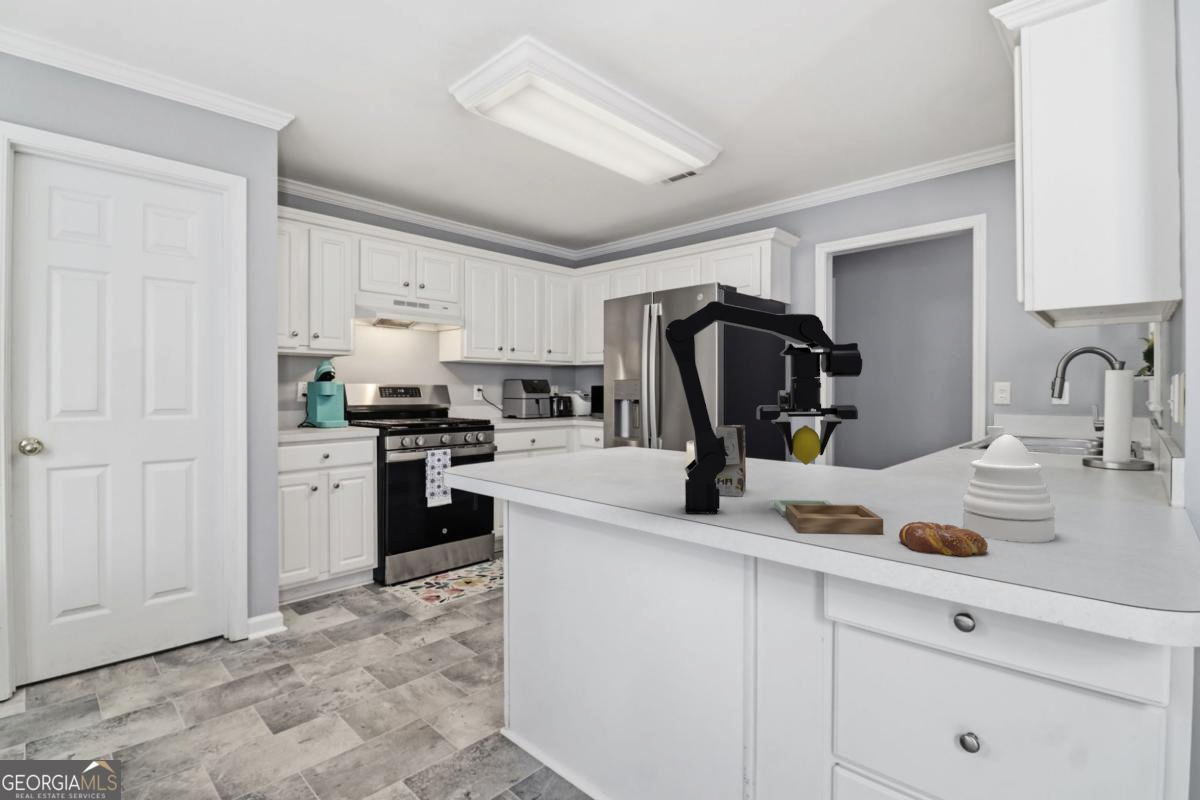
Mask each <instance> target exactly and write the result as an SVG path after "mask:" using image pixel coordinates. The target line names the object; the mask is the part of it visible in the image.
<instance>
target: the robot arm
mask: <svg viewBox="0 0 1200 800" xmlns="http://www.w3.org/2000/svg"><path fill="white" fill-rule="evenodd" d="M714 323H717V324H718V323H720V324H724V325H728V326H733V327H739V328H744V329H749V330H753V331H759V332H764V333H769V334H772V335H774V336H776V337H778V338H780V339H782V340H784V341H787V342H789V343H788V344H786V346H785V348H784V349H783V350H782V351H781V352H779V355H780V356H781V357H790V363H789V364H790V365H789V366H790V367H789V368H790V371H789V372H790V373H789V374H790V384H789V385H790V386H789V388H790V389H789V392H788V390H786V389H784V390H783V389H781V390H779V389H778V391H777V405H776V404H774V405H773V404H772V405H771V404H770V405H769V404H768V405H762V404H760V405H758V406H757V407H756V420H759V421H771V424H774V425H777V427H778V428H779V431H780V433H781V434H782V437H783V439H784V442H785V446H786V448H787V451H788V455H789V456H793V446H792V437H793V435H792V422H791V421H789V417H790V418H792V417H793V418H797V417H798V418H799V417H801V418H806V417H807V418H808V417H811V418H812V417H813V418H815V417H818V418H819V417H820V418H821V417H822V418H823V419H819V421H820V422H819V423H820V424H819V425H820V434H819V439H820V452H819V456H823V455H824V452H825V450H826V448H827V445H828V442H829V440H830V438H831V436H832V434H833V432H834V430H835V429H836V427H837V426H838V425H842V424H843V421H842V420H858V419H859V411H858V408H857V406H856V405H854V404H830V407H822V402H821V395H822V393H821V390H822V389H821V388H822V382H821V372H822V373H825V374H826V377H828V378H859V377H860V375H861V373H862V371H863V358H862V355H861V352H860V350H859V347H858V345H859V343H857V342H850V343H842V344H841V343H839V344H838V343H837V344H835V343H834V341H833V340H832V339H831V338H830V336H829V335H828V334H827V333H826V331H825V330H824V325H823V322H822V320H821V319H820V317H819V316H818V315H815V314H813V313H774V312H769V311H763V310H759V309H753V308H748V307H744V306H739V305H733V304H730V303H724V302H721V301H719V300H712V301H710V302H708V303H707V304H706V305H705V306H703V307H702V308H700V309H698V310H696V311H695V312H693V313H692V314H690V315H689V316H687V317H686V318H684V319H681V318H679V319H674V320H672V321H670V322H669V323H668V324H667V326H666V328H665V330H664V341H665V344H666V345H667V347H668V350H669V353H670V355H671V357H672V359H673V361H674V362H675V365H676V367H677V371H678V374H679V378H680V381H681V386H682V389H683V390H682V391H683V395H684V398H685V402H686V405H687V410H688V415H689V418H690V422H691V426H692V429H693V430H692V431H693V449H694V459H693V460H691V462H690V463H689V464H688V465H686V467H684V471H685V473H686V476H687V478H685V479H684V487H685V488H684V490H685V491H684V496H685V497H684V498H685V499H684V500H685V501H684V502H685V504H684V513H685V514H718V513H719V511H718V510H719V509H720V507H721V506H720V504H721V502H720V501H721V499H720V497H721V495H720V493H719V487H716V477H717V474H719V473H721V472H722V471H723V469H724V468H725V466H726V457H725V456H727V457H728V456H729V455H728V453H727V452H726V450H725V444H724V437H723V436H722V435H720V434H719V435H716V432H715V431H714V429H713V427H712V423H711V419H710V415H709V412H708V411H709V410H708V406H707V403H706V400H705V396H704V391H703V387H702V382H701V379H700V375H699V371H698V368H697V363H696V343H695V340H696V339H695V336H696V335H697V334H699V333H701V332H702V331H704V329H707V328H708V327H710V326H711V325H712V324H714ZM793 344H795V345H796V346H797V345H799V347H795V346H794V345H793ZM804 345H805V346H806V347H805V346H804ZM812 350H813V351H812ZM815 350H816V351H815ZM817 350H818V351H817ZM819 350H822V351H819ZM781 407H782V408H781ZM783 407H784V408H783ZM812 409H813V411H812Z"/></svg>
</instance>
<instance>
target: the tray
mask: <svg viewBox="0 0 1200 800" xmlns="http://www.w3.org/2000/svg"><path fill="white" fill-rule="evenodd" d="M785 519H786V520H787V521H788V522H789V524H790V525H791V526H792V527H793V529H794V530H795V531H796V530H797V531H796V532H797V533H799V534H840V533H850V534H849V535H852V534H853V535H854V534H855V535H884V519H883V518H882V517H881V516H879V515H878V514H876V513H875V512H873V511H872V510H871V509H869V508H867V507H865V506H864V505H862V504H832V505H825V504H786V517H785Z"/></svg>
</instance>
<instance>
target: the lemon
mask: <svg viewBox="0 0 1200 800" xmlns="http://www.w3.org/2000/svg"><path fill="white" fill-rule="evenodd" d="M792 446H793V452H792V455H793V456H794V457H795V458H796V459H797V460H798V461H800V462H802V463H803V465H805V466H806V465H808V464H810V463H811V462H812V461H814V460H816V459H817V458H818V456H820V454H819V452H820V435H819V434H818V433H817V432H816V430H815V429H813V428H811V427H809V426H808V425H807V424H806V425H803V426H802V427H800V428H798V429H797V430H795V431H794V433H793V435H792Z"/></svg>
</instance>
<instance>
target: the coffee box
mask: <svg viewBox="0 0 1200 800" xmlns="http://www.w3.org/2000/svg"><path fill="white" fill-rule="evenodd" d="M719 434H720V435H722V436H723V437H724V444H725V450H726V452H727V453H728V455H729V456H728V457H727V456H725V457H726V466H725V468H724V469H723V471H722V472H721V473H719V474H717V477H716V487H719V493H720V496H726V497H727V496H728V497H743V496H744V494H745V493H746V490H747V489H746V488H747V482H746V480H747V478H746V477H747V475H746V474H747V473H746V472H747V471H746V469H747V468H746V464H747V463H746V425H745V424H732V425H731V424H729V425H728V424H727V425H718V426H716V427H715V435H719Z"/></svg>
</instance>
